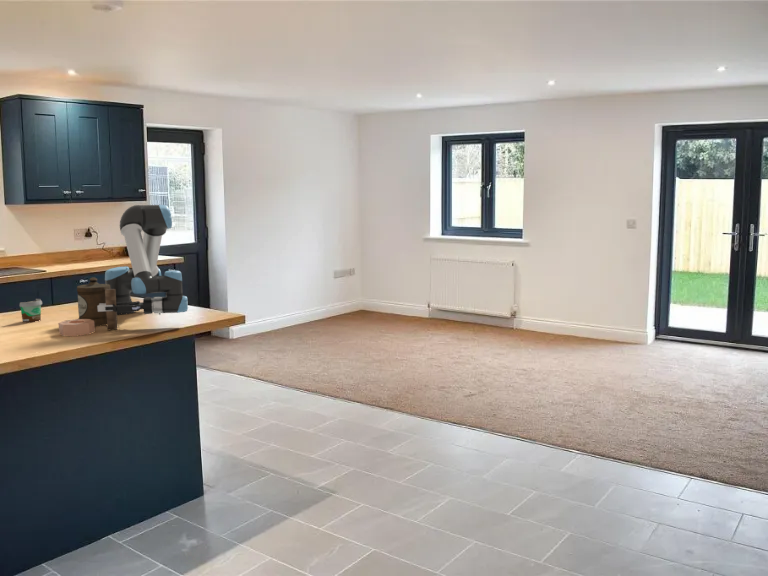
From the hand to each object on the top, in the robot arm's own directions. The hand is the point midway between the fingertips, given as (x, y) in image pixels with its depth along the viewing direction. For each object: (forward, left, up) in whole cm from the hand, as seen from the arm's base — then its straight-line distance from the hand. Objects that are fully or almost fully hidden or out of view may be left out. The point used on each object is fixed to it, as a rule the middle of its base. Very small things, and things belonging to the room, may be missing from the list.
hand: (98, 307), depth 321 cm
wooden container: (-5, -16, -10) cm, 20 cm away
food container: (+14, -43, -10) cm, 47 cm away
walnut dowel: (-5, +3, -10) cm, 11 cm away
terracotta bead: (+10, +1, -10) cm, 15 cm away
